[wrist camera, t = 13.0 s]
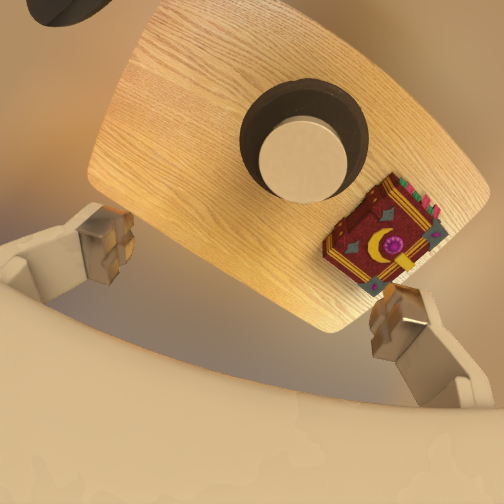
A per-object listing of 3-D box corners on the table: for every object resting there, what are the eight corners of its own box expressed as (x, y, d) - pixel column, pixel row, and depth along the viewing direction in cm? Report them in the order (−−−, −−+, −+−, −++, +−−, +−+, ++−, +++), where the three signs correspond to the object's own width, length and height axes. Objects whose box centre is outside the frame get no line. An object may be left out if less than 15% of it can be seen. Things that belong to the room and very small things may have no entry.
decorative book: (320, 239, 45) (320, 259, 41) (396, 162, 35) (405, 175, 31) (371, 279, 47) (374, 300, 43) (444, 214, 38) (456, 231, 34)
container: (260, 96, 34) (208, 126, 18) (322, 63, 30) (332, 56, 14) (295, 152, 38) (277, 228, 22) (356, 122, 34) (394, 177, 18)
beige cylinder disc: (256, 123, 18) (246, 134, 15) (332, 105, 16) (335, 112, 14) (279, 191, 20) (273, 211, 18) (349, 177, 18) (354, 195, 16)
